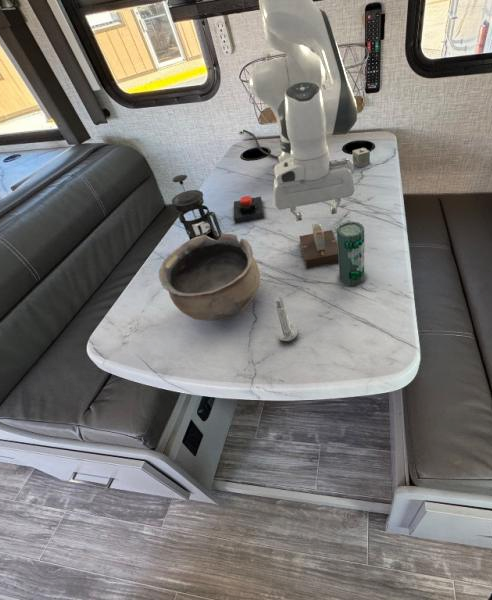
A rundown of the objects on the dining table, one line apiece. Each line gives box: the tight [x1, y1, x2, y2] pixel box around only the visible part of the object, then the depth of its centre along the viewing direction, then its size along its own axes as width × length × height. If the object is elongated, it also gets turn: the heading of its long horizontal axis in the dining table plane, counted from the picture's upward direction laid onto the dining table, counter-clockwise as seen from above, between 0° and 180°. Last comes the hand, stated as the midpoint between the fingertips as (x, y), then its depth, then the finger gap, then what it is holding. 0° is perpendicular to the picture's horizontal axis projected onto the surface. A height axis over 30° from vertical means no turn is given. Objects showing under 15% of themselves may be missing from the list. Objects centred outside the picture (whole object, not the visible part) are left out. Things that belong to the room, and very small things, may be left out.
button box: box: [233, 196, 265, 224], centre depth 118 cm, size 12×10×4 cm
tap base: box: [299, 229, 339, 269], centre depth 96 cm, size 12×10×3 cm
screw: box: [275, 296, 299, 343], centre depth 72 cm, size 13×5×5 cm
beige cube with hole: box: [352, 147, 371, 168], centre depth 134 cm, size 5×5×5 cm
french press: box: [171, 174, 223, 241], centre depth 99 cm, size 12×9×23 cm
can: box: [336, 221, 365, 286], centre depth 83 cm, size 6×6×15 cm
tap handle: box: [311, 222, 325, 251], centre depth 93 cm, size 6×2×5 cm, turn 9°
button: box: [239, 195, 252, 206], centre depth 116 cm, size 4×4×2 cm
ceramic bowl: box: [158, 232, 261, 322], centre depth 82 cm, size 22×22×15 cm
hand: (316, 216), depth 89 cm, fingers open, 8 cm apart
